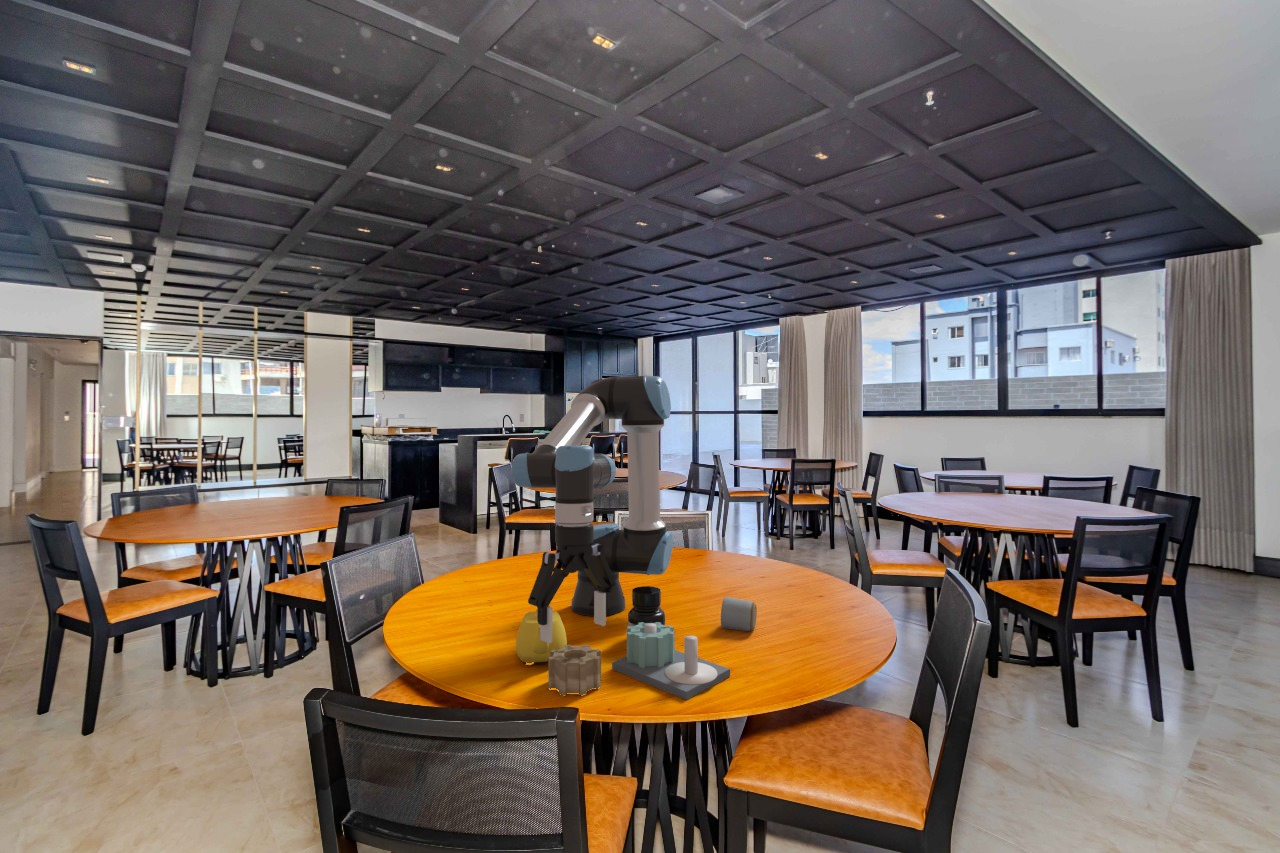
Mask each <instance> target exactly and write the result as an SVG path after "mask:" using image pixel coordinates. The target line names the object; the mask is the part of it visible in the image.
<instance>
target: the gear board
mask: <svg viewBox="0 0 1280 853" xmlns="http://www.w3.org/2000/svg"><path fill="white" fill-rule="evenodd" d="M675 636H676V634H675V631H674V626H673V625H666V624H665V625H662V624H661V622H655V623H644V622H640V623H638V625H636V626H633V627H632V626H628V625H627V627H626V656H624V657H621V658H618V659H616V660H613V661H611V670H613V671H615V670H616V672H618V673H621V674H622V673H623V674H622V675H624V676H625V675H626V676H627V675H628V676H627V677H630V676H631V677H630V678H632V677H633V678H632V679H635V680H637V681H640V682H642V683H644V684H647V685H650V686H652V687H655V688H657V689H659V690H662V691H664V692H666V693H668V694H671V695H674V696H676V697H678V698H681V699H683V700H685V701H687V700H689V699H691V698H692V697H695V696H696V695H698V694H700V693H702V692H704V691H705V690H708V689H709V688H711V687H713V686H715V685H716V684H719V683H720V682H723V681H724V680H726V679H728V678H729V677H731V668H729V667H725V666H723V665H720V664H717V663H714V662H712V661H708V660H705V659H703V658H699V656H698V655H699V653H698V651H699V650H698V648H699V647H698V646H699V644H698V637H697V636H695V635H687V636H684V638H683V640H684V643H683V644H684V648H683V649H684V652H682V651H679V650H676V647H675V646H676V642H675V640H676V639H675Z"/></svg>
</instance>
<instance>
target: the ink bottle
mask: <svg viewBox="0 0 1280 853" xmlns="http://www.w3.org/2000/svg"><path fill="white" fill-rule="evenodd" d="M661 591H662V590H661V588H659V587H655V586H648V585H647V586H646V585H644V586H643V585H642V586H637V587H634V588H632V592H631V595H632V596H631V600H632V608H631V609H630V610H629V611H628V614H627V627H628V626H632V627H633V626H636V625H638V623H640V622H644V623H655V622H661V624H662V625H665V626H666V614H665V611H664V610H663V609H662V608H661V603H662V598H661V596H662V595H661V594H662V592H661Z"/></svg>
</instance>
